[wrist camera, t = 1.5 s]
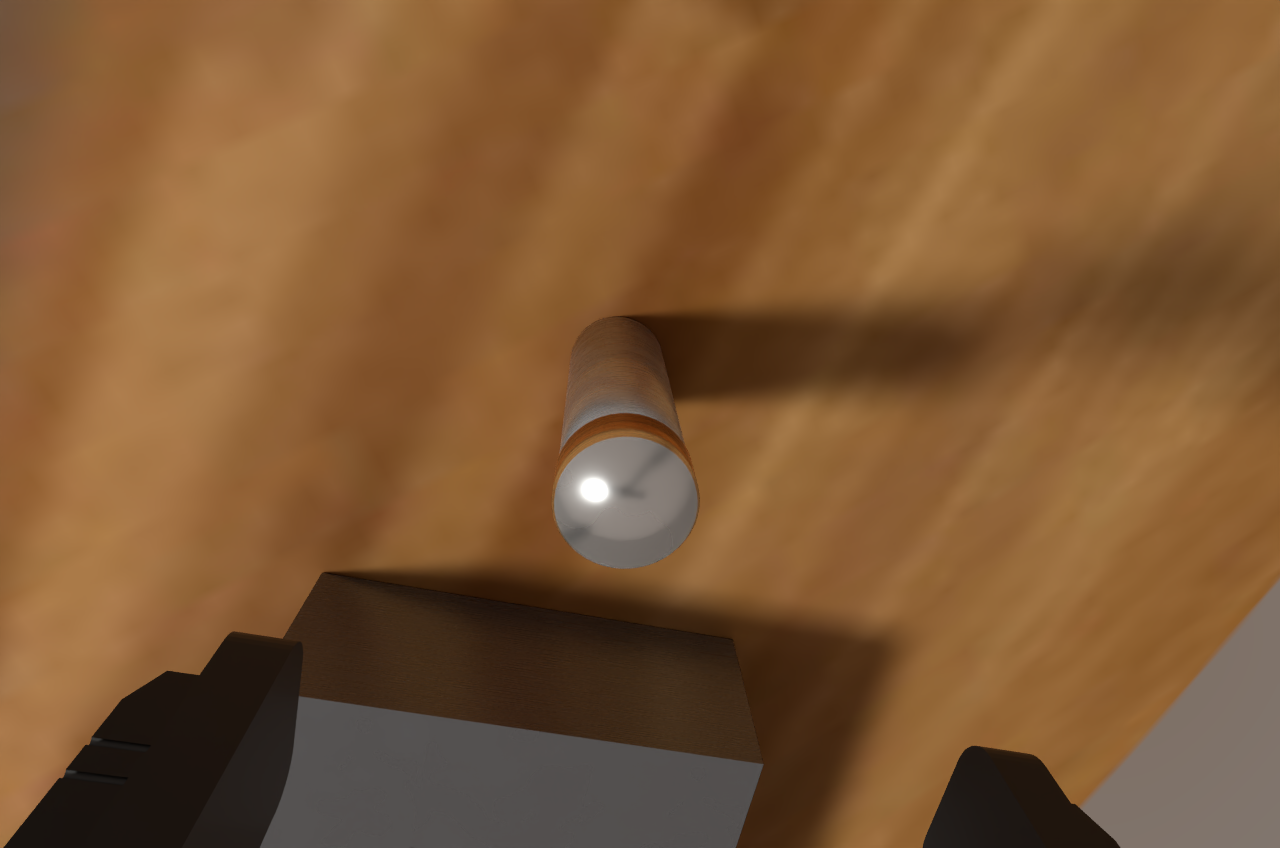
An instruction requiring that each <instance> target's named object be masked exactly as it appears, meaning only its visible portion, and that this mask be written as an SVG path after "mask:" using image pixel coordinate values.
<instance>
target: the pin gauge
mask: <svg viewBox="0 0 1280 848" xmlns="http://www.w3.org/2000/svg"><path fill="white" fill-rule="evenodd" d="M699 503H700V497H699V489H698V484H697V480H696V477H695V473H694V469H693V465H692V461H691V457H690V455H689V452H688V450H687V448H686V446H685V443H684V439H683V435H682V431H681V427H680V423H679V419H678V415H677V411H676V407H675V403H674V399H673V395H672V391H671V387H670V383H669V379H668V375H667V371H666V367H665V363H664V359H663V355H662V351H661V347H660V345H659V342H658V340H657V339H656V337H655V336H654V334H653V333H652V332H651V331H650V330H649V329H648V328H647V327H646V326H644V325H643V324H641V323H640V322H638V321H636V320H633V319H630V318H626V317H607V318H603V319H600V320H598V321H596V322H594V323H592V324H591V325H589V326H588V327H586V328H585V329H584V330H583V331H582V332H581V334H580V335H579V336H578V338H577V340H576V341H575V343H574V346H573V349H572V353H571V361H570V369H569V378H568V386H567V395H566V403H565V412H564V420H563V429H562V438H561V446H560V454H559V457H558V460H557V463H556V469H555V477H554V485H553V493H552V511H553V517H554V520H555V523H556V526H557V528H558V530H559V532H560V534H561V535H562V537H563V538H564V540H565V541H566V542H567V543H568V544H569V546H570V547H571V548H573V549H574V550H575V551H576V552H577V553H579V554H580V555H582V556H583V557H585V558H586V559H588V560H590V561H592V562H594V563H597V564H600V565H603V566H607V567H611V568H620V569H624V568H638V567H642V566H647V565H650V564H652V563H655V562H657V561H659V560H661V559H663V558H665V557H667V556H668V555H670V554H671V553H673V552H674V551H675V550H676V549H677V548H678V547H680V545H681V544H682V543H683V542H684V541H685V540H686V539H687V537H688V536H689V534H690V533H691V531H692V529H693V527H694V525H695V522H696V519H697V516H698V512H699Z"/></svg>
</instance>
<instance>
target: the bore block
mask: <svg viewBox="0 0 1280 848" xmlns="http://www.w3.org/2000/svg"><path fill="white" fill-rule="evenodd" d="M283 639H287V640H293V641H300V642H301V643H302V645H303V663H302V672H301V682H300V691H299V701H298V710H297V719H296V729H295V738H294V747H293V754H292V760H291V765H290V769H289V774H288V777H287V781H286V785H285V788H284V791H283V794H282V797H281V800H280V803H279V805H278V808H277V810H276V813H275V815H274V817H273V819H272V822H271V824H270V826H269V828H268V830H267V833H266V835H265V837H264V839H263V841H262V844H261V846H260V848H736V846H737V843H738V840H739V837H740V834H741V831H742V828H743V825H744V822H745V819H746V816H747V813H748V810H749V807H750V804H751V801H752V798H753V795H754V792H755V789H756V786H757V783H758V780H759V777H760V774H761V771H762V768H763V765H764V764H763V760H762V756H761V752H760V748H759V744H758V740H757V736H756V731H755V727H754V723H753V719H752V715H751V711H750V707H749V703H748V699H747V695H746V691H745V687H744V683H743V679H742V675H741V671H740V667H739V663H738V659H737V655H736V651H735V647H734V643H733V640H732V639H726V638H720V637H714V636H708V635H702V634H695V633H689V632H683V631H677V630H671V629H665V628H659V627H653V626H646V625H640V624H634V623H628V622H622V621H616V620H610V619H603V618H597V617H591V616H585V615H579V614H573V613H567V612H561V611H554V610H548V609H542V608H536V607H530V606H524V605H518V604H511V603H505V602H499V601H493V600H487V599H481V598H475V597H469V596H462V595H456V594H450V593H444V592H438V591H432V590H426V589H419V588H413V587H407V586H401V585H395V584H389V583H383V582H376V581H370V580H364V579H358V578H352V577H346V576H340V575H334V574H327V573H322V574H321V575H320V577H319V579H318V581H317V582H316V584H315V586H314V587H313V589H312V591H311V592H310V594H309V596H308V597H307V599H306V601H305V602H304V604H303V606H302V607H301V609H300V611H299V612H298V614H297V616H296V617H295V619H294V621H293V623H292V624H291V626H290V628H289V629H288V631H287V633H286V634H285V636H284V638H283Z"/></svg>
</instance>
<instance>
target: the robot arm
mask: <svg viewBox="0 0 1280 848" xmlns="http://www.w3.org/2000/svg"><path fill="white" fill-rule="evenodd" d="M302 663H303V645H302V643H301V642H300V641H293V640H287V639H280V638H274V637H267V636H260V635H254V634H247V633H241V632H231V633H230V634H229V635H228V636H227V637H226V638H225V639H224V641H223V642H222V644H221V645H220V647H219V648H218V649H217V651H216V652H215V654H214V655H213V657H212V658H211V660H210V661H209V662H208V664H207V665H206V667H205V668H204V670H203V671H202V672H201V674H200V675H193V674H186V673H179V672H173V671H166V672H165V673H163V674H162V675H160V676H158V677H157V678H155V679H154V680H152V681H150V682H149V683H147V684H146V685H144V686H142V687H141V688H139V689H138V690H136V691H134V692H133V693H131V694H130V695H128V696H127V697H125V698H123V699H122V700H121V701H120V702H119V704H118V705H117V706H116V707H115V709H114V710H113V711H112V712H111V714H110V715H109V716H108V717H107V719H106V720H105V721H104V722H103V724H102V725H101V726H100V727H99V729H98V730H97V731H96V732H95V734H94V735H93V736H92V739H91V742H90V744H89V745H85V746H84V748H83V749H82V750H81V751H80V753H79V754H78V755H77V756H76V758H75V759H74V760H73V761H72V763H71V764H70V765H69V766H68V768H67V769H66V772H65V775H64V777H63V778H59V779H58V780H57V781H56V783H55V784H54V785H53V786H52V788H51V789H50V790H49V791H48V793H47V794H46V795H45V796H44V798H43V799H42V800H41V801H40V803H39V804H38V805H37V806H36V808H35V809H34V810H33V811H32V813H31V814H30V815H29V816H28V818H27V819H26V820H25V821H24V823H23V824H22V825H21V826H20V828H19V829H18V830H17V831H16V833H15V834H14V835H13V836H12V838H11V839H10V840H9V841H8V843H7V844H6V845H5V846H4V848H260V846H261V844H262V841H263V839H264V837H265V835H266V833H267V830H268V828H269V826H270V824H271V822H272V819H273V817H274V815H275V813H276V810H277V808H278V805H279V803H280V800H281V797H282V794H283V791H284V788H285V785H286V781H287V777H288V774H289V769H290V765H291V760H292V754H293V747H294V738H295V729H296V719H297V710H298V701H299V691H300V682H301V672H302ZM923 848H1120V847H1119V845H1118V844H1117V842H1116V841H1115V840H1114V839H1113V838H1112V837H1111V836H1109V834H1107V833H1106V832H1105V831H1104V830H1103V829H1102V828H1101V827H1100V826H1099V825H1097V824H1096V823H1095V822H1094V821H1093V820H1092V819H1091V818H1090V817H1089V816H1088V815H1087V814H1085V813H1084V812H1083V811H1082V810H1081V809H1080V808H1079V807H1078V806H1077V805H1076V804H1071V803H1070V801H1069V800H1068V798H1067V797H1066V795H1065V794H1064V793H1063V791H1062V790H1061V788H1060V787H1059V785H1058V784H1057V782H1056V781H1055V780H1054V778H1053V777H1052V775H1051V774H1050V772H1049V771H1048V769H1047V768H1046V766H1045V765H1044V764H1043V763H1042V761H1041V760H1040V759H1038V758H1037V757H1036V756H1034V755H1032V754H1026V753H1020V752H1013V751H1006V750H1000V749H993V748H987V747H980V746H971V747H969V748H967V749H966V750H965V751H964V752H963V753H962V755H961V756H960V758H959V760H958V762H957V765H956V767H955V769H954V772H953V774H952V776H951V779H950V781H949V783H948V786H947V788H946V790H945V793H944V795H943V797H942V800H941V802H940V804H939V807H938V809H937V811H936V814H935V816H934V818H933V821H932V823H931V825H930V828H929V830H928V832H927V835H926V837H925V840H924V844H923Z"/></svg>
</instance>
